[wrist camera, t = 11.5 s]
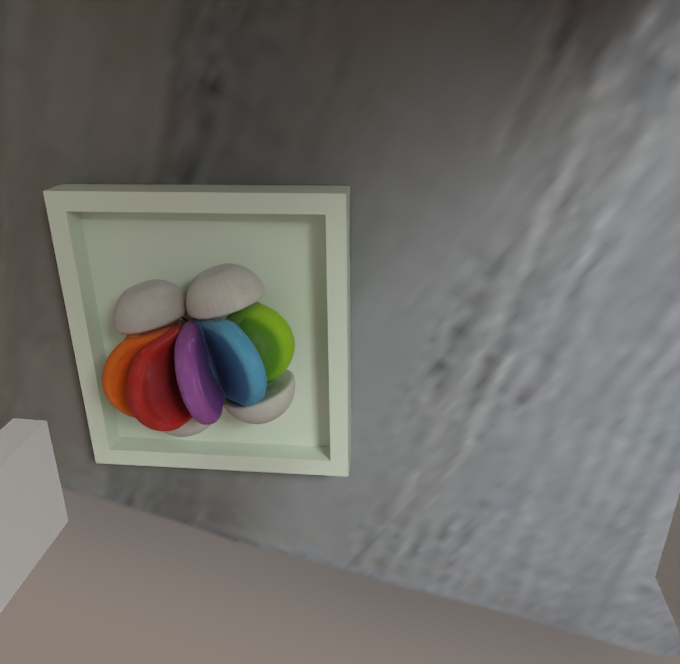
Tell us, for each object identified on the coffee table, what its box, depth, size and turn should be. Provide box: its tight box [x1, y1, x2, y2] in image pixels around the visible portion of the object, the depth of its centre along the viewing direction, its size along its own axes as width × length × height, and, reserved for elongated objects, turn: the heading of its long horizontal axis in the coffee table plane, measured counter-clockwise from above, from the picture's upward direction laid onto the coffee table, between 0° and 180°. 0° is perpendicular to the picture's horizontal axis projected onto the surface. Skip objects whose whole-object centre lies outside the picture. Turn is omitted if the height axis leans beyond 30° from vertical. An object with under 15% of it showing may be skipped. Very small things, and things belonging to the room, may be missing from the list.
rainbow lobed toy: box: [102, 263, 295, 437], centre depth 32 cm, size 8×10×7 cm
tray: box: [43, 184, 351, 476], centre depth 35 cm, size 16×15×2 cm
